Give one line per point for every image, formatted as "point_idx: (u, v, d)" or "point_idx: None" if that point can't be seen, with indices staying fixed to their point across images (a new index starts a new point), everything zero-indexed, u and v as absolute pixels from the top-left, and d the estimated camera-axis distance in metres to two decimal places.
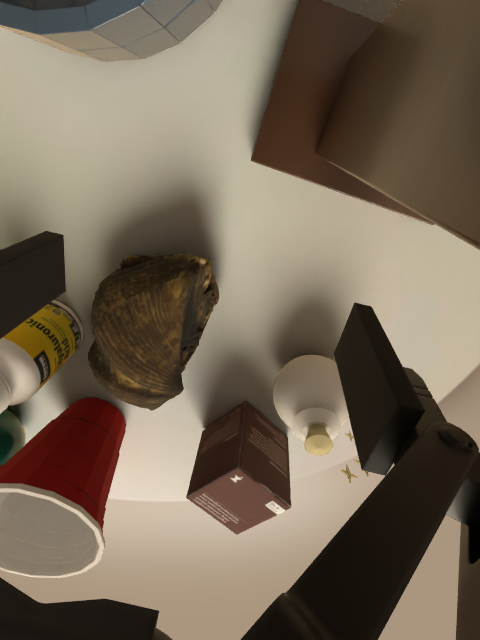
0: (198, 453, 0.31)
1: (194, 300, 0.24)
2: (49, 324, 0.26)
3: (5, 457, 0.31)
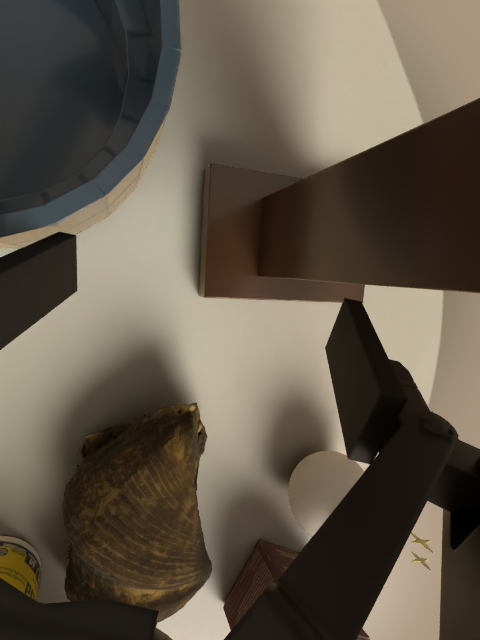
0: None
1: (191, 453, 0.21)
2: (1, 575, 0.19)
3: None
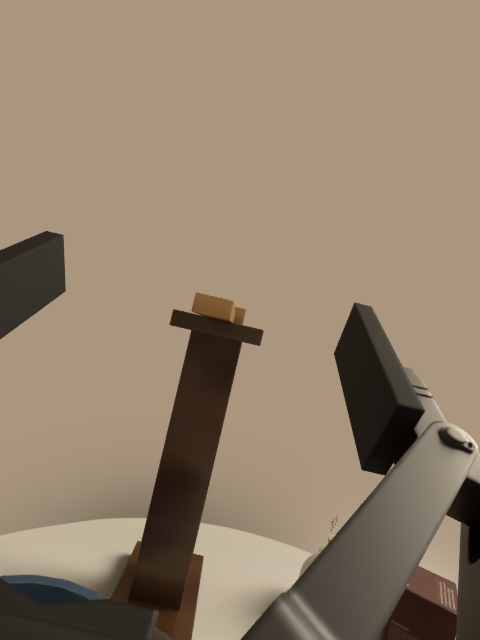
0: None
1: None
2: None
3: None
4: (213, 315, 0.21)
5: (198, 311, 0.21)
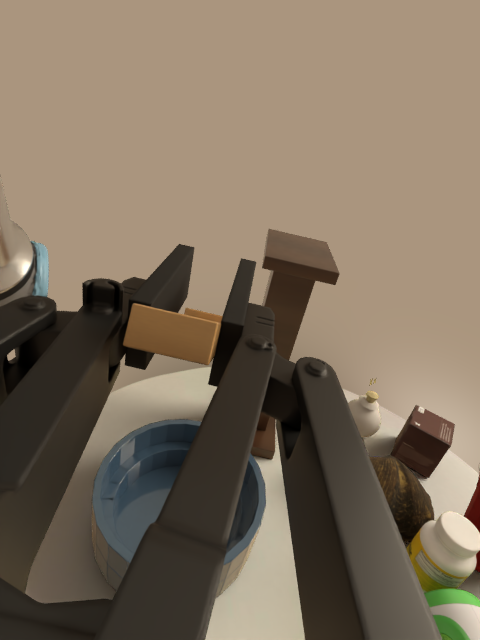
0: (435, 464, 0.52)
1: None
2: (407, 548, 0.40)
3: None
4: (171, 354, 0.10)
5: (138, 345, 0.10)
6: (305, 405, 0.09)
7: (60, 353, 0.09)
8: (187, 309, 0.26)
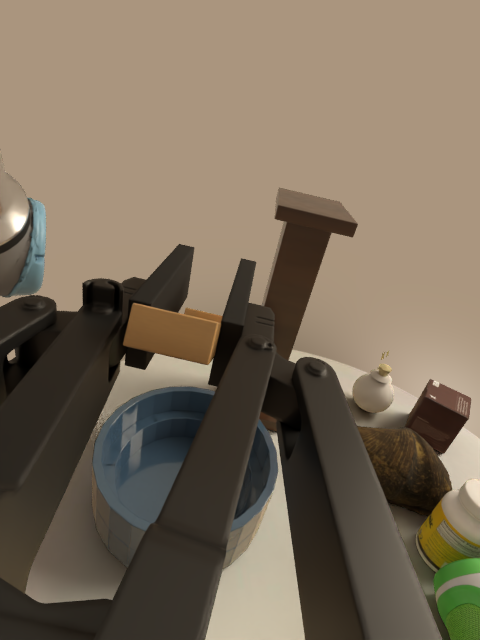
0: (451, 438, 0.50)
1: None
2: (427, 520, 0.37)
3: None
4: (171, 354, 0.10)
5: (137, 345, 0.10)
6: (305, 405, 0.09)
7: (60, 353, 0.09)
8: (187, 309, 0.26)
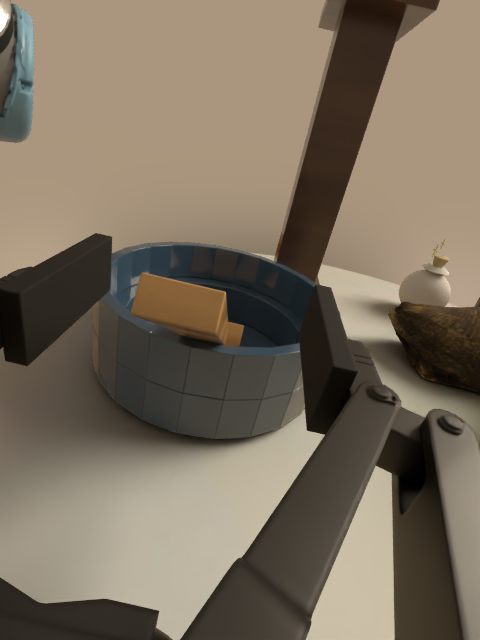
0: None
1: None
2: None
3: None
4: (179, 322, 0.10)
5: (145, 313, 0.09)
6: (434, 460, 0.08)
7: None
8: None
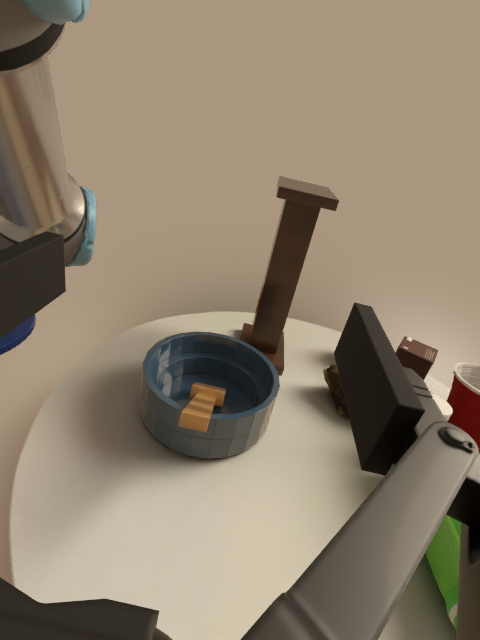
0: None
1: None
2: None
3: None
4: (193, 429, 0.29)
5: (183, 426, 0.29)
6: None
7: None
8: (193, 386, 0.45)
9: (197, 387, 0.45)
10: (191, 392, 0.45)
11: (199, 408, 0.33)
